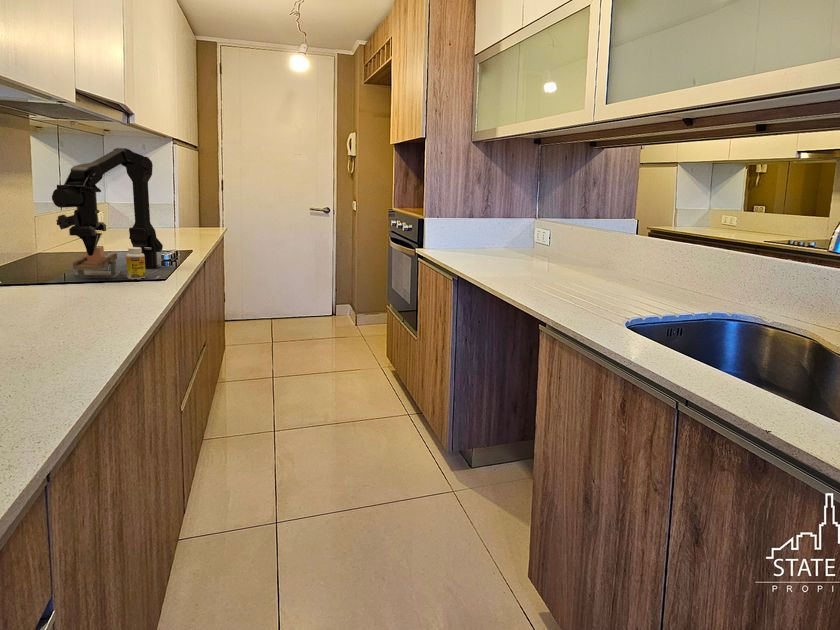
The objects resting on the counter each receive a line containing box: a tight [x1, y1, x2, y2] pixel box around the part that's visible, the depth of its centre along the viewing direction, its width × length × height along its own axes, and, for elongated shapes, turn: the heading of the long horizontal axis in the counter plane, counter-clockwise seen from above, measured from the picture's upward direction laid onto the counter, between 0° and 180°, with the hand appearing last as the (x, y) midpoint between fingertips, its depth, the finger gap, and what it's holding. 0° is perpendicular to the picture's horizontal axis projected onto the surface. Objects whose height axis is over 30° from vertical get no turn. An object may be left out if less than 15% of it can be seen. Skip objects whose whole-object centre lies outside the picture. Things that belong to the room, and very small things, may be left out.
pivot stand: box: [73, 260, 121, 279], centre depth 197 cm, size 8×12×5 cm, turn 105°
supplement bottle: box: [125, 246, 147, 280], centre depth 195 cm, size 6×6×10 cm
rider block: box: [85, 245, 105, 262], centre depth 196 cm, size 5×4×4 cm
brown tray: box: [72, 252, 118, 271], centre depth 196 cm, size 22×8×2 cm, turn 15°
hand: (90, 255), depth 190 cm, fingers closed
